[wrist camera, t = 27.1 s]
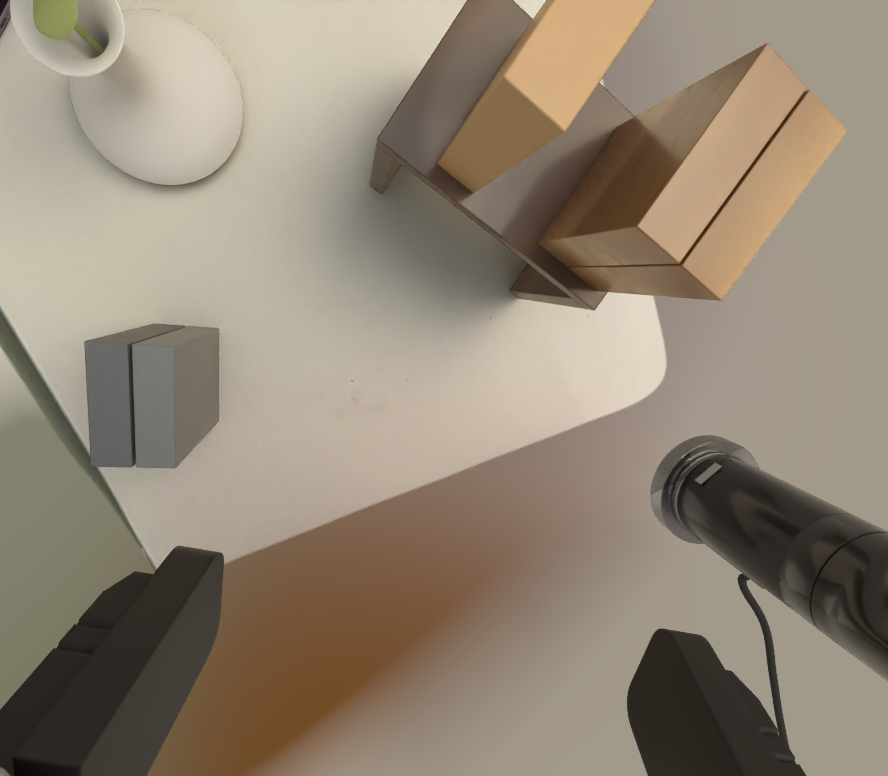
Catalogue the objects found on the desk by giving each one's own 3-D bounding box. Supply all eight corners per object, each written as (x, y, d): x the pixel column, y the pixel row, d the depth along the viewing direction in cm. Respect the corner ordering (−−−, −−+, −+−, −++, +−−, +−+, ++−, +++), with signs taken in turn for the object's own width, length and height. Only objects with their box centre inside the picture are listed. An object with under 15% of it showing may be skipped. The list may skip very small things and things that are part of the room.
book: (557, 69, 28) (720, -94, 16) (473, 193, 29) (565, 133, 16) (521, 36, 27) (661, -164, 15) (436, 164, 28) (501, 76, 16)
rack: (585, 204, 45) (873, 119, 20) (519, 298, 46) (716, 330, 21) (438, 78, 41) (571, -228, 16) (369, 185, 42) (390, 54, 17)
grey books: (219, 328, 42) (173, 346, 32) (219, 421, 44) (175, 468, 33) (153, 323, 41) (83, 341, 31) (155, 418, 43) (90, 466, 32)
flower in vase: (270, 165, 40) (144, 5, 16) (124, 206, 39) (-244, 99, 15) (203, -22, 37) (-83, -580, 13) (42, 17, 36) (-603, -512, 12)
